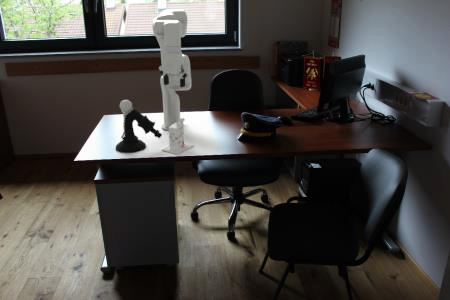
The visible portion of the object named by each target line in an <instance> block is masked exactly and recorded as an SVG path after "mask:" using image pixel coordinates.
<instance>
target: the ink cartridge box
mask: <svg viewBox="0 0 450 300" xmlns="http://www.w3.org/2000/svg"><path fill="white" fill-rule="evenodd" d="M181 118H182V119H181ZM181 118H180V120H179V121H177V122H176V123H174V124H173V125H171V126H170V127H169V130H168V138H169V140H168V141H169V146H170V150H179V149H180V148H181V147H183V146H184V144H185V126H184V121H183V118H184V117H181ZM179 122H181V123H179Z"/></svg>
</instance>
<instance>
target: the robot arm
mask: <svg viewBox="0 0 450 300" xmlns="http://www.w3.org/2000/svg"><path fill="white" fill-rule="evenodd" d="M151 25H152V32H153V35H154V36H155V38H156V40H157V42H158V45H159V47H160V48H159V49H160V59H161V60H160V61H161V65H160V66H159V67H158V70H159V72H160V74H161V76H160V81H159V82H160V88H161V93H162V109H163V111H162V112H163V124H162V125H161V129H162V130H164V131H169V127H170V126H171V125H173V124H174V123H176V122H177V121H179V120H180V119H182V118H183V122H184V121H185V118H184V117H181V107H180V106H181V103H180V96H179V95H178V94H177V92H176V91H189V90H191V88H192V74H191V73H192V72H191V71H192V70H191V63H190V58H189V56H188V55H186V54H183V52H182V41H181V38H184V37H185V36H186V35H187V32H188V31H187V30H188V15H187V13H186V11H185V10H183V9H165V10H162V11H161V12H160V14H159V15H158V16H156V17H155V18H153V21H152V24H151ZM179 123H181V122H179Z"/></svg>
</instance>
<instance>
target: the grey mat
mask: <svg viewBox="0 0 450 300" xmlns="http://www.w3.org/2000/svg"><path fill="white" fill-rule="evenodd" d="M193 147H194V145H192V144H188V143H184V146H183V147H181V148H180V149H179V150H170V145H169V146H167V147H165V148H163V149H162V150H161V151H162V152H166V153H171V154H174V155H180V154H182V153H184V152H187V150H189V149H191V148H193Z"/></svg>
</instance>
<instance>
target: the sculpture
mask: <svg viewBox="0 0 450 300" xmlns="http://www.w3.org/2000/svg"><path fill="white" fill-rule="evenodd" d="M119 109H120V110H121V112H122V116H123V125H122V126H123V133H122V135H121V137H120V138H121V139H122V140H121V141H119V142H118V143H117V144H116V145H115V149H116V152H119V153H123V154H131V153H138V152H141V151H144V150H145V149H146V148H147V144H146V142H144V141H143V140H141V139H139V137H138V135H135V132H134V131H135V130H134V126H133V123H134V121H136V122H137V127H139V128H141V129H142V130H143V132H144V133H145V135H147V134H148V133H150V132H151V133H152V134H153V135H154V137H155V138H158V139H161V137H162V135H163V134H162V133H161V132H160V130H159V129H156V128H154V127H155V125H156V122H155V121H152V120H150V119H149V118H148V117H147V115H143V114H142V113H141V112H140V111H139V110H137V109H135V108H134V107H133V103H132V101H130V100H129V99H123V100H121V101H120V103H119Z"/></svg>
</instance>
